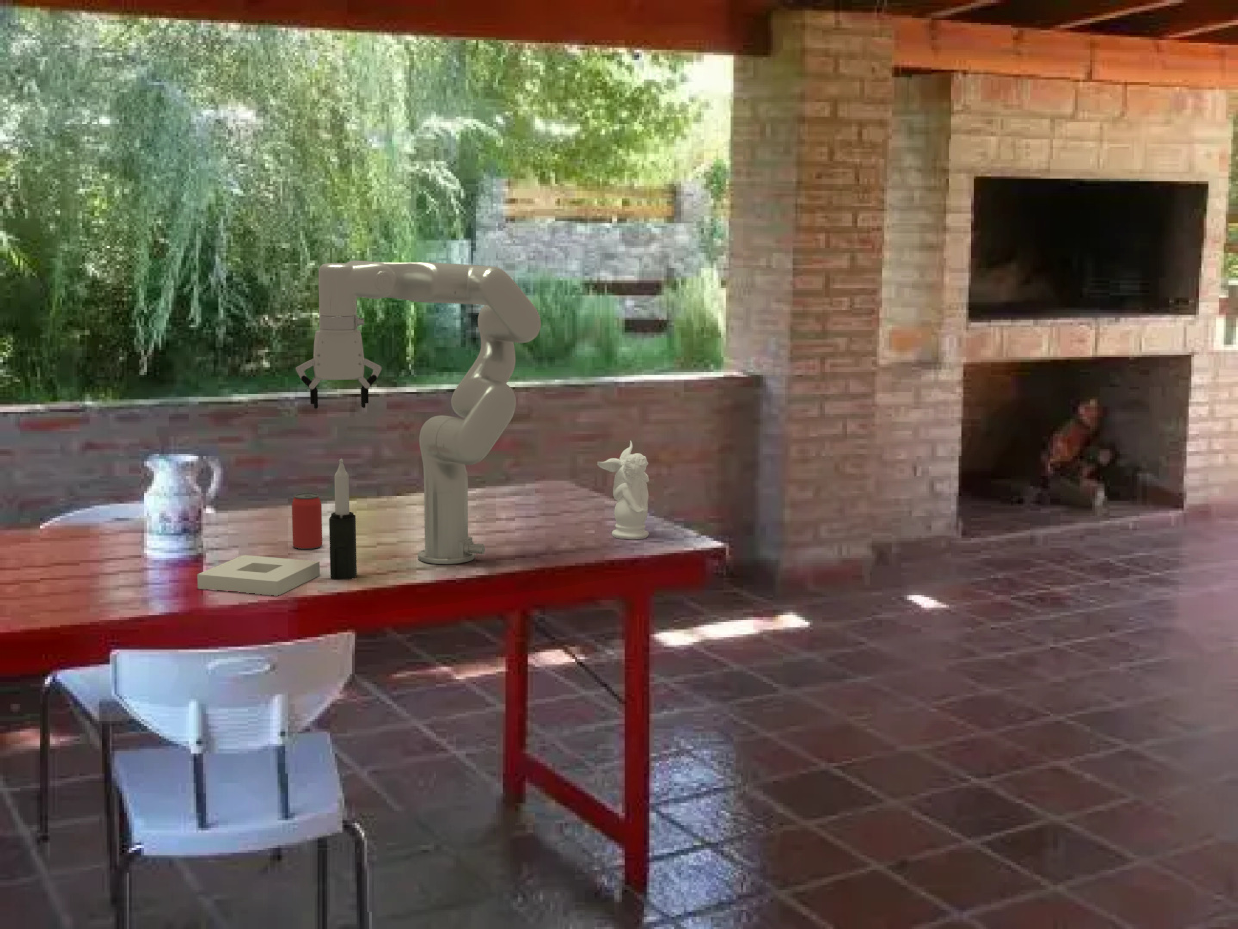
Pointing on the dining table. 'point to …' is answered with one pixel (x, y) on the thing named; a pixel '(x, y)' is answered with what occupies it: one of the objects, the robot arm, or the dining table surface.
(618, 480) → the cherub figurine
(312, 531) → the beer can
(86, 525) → the dining table surface
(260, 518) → the dining table surface
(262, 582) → the candle base
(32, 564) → the dining table surface
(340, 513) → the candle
